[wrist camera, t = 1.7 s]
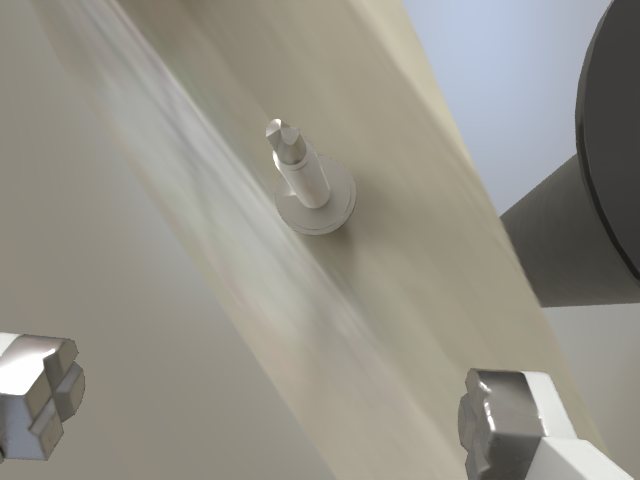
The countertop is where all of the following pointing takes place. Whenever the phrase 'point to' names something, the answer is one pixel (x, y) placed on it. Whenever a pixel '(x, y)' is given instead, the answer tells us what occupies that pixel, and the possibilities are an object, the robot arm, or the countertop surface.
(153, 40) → the countertop surface
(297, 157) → the screw
